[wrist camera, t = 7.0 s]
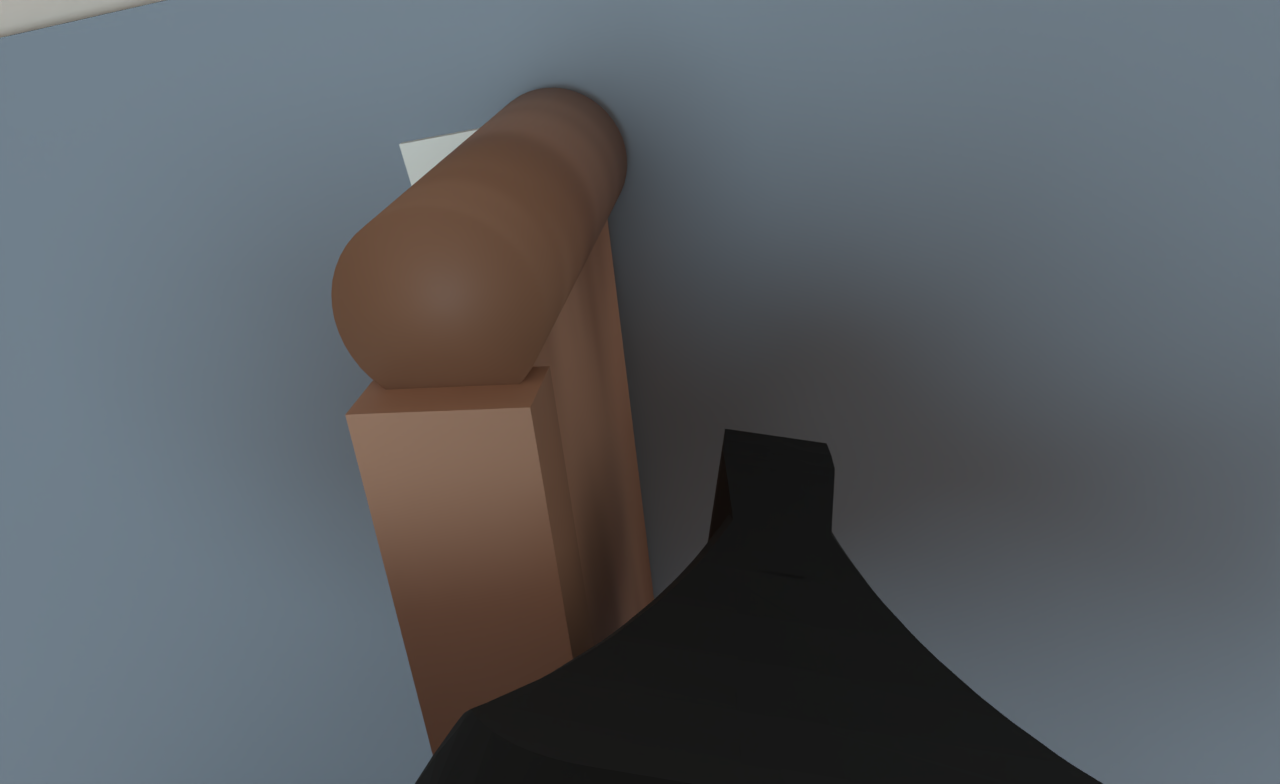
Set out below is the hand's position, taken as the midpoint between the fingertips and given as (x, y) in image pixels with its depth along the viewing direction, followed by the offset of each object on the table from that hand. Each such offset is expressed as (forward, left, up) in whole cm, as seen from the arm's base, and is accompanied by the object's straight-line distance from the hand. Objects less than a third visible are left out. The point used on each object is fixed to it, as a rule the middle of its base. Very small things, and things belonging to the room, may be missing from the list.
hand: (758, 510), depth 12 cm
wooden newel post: (-1, +2, -1) cm, 3 cm away
